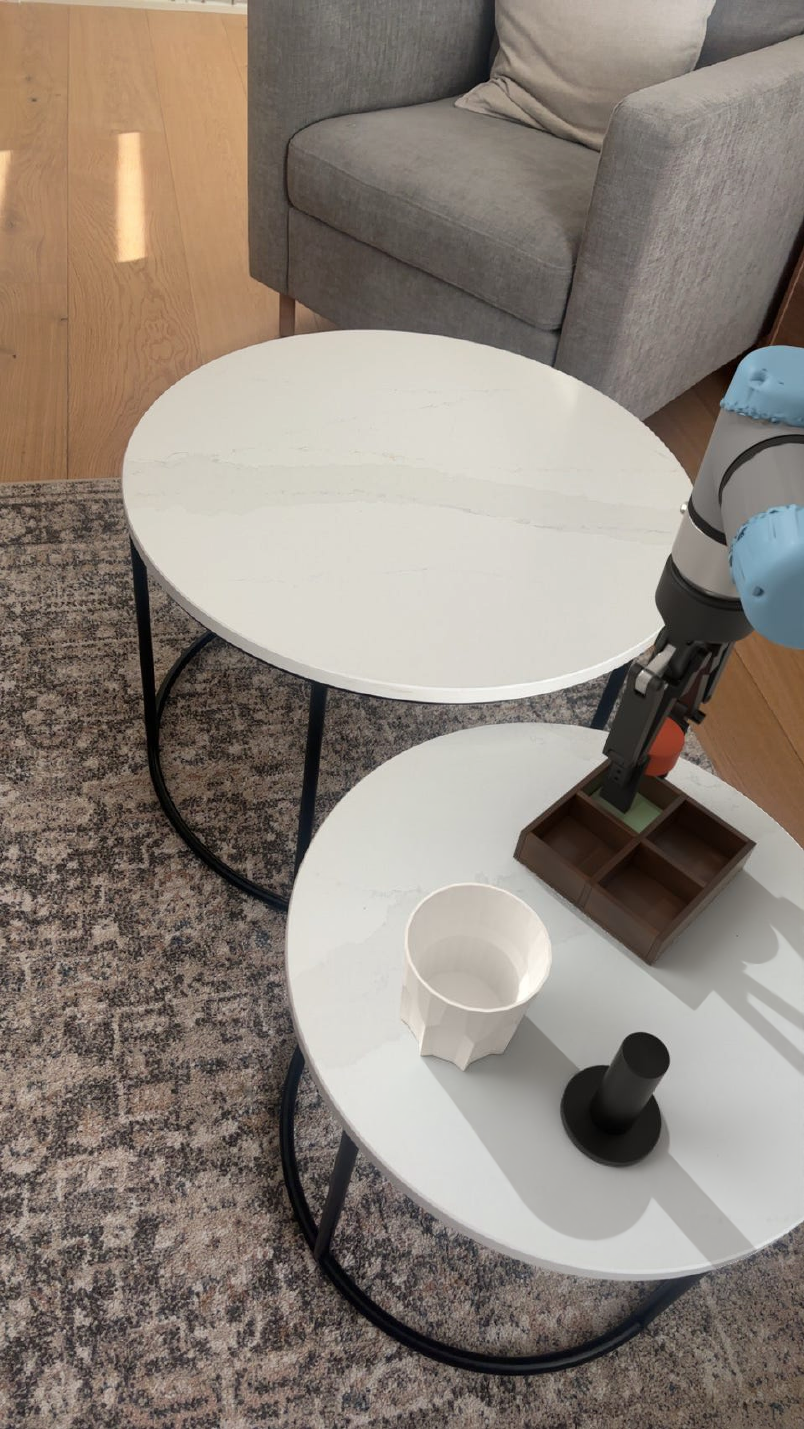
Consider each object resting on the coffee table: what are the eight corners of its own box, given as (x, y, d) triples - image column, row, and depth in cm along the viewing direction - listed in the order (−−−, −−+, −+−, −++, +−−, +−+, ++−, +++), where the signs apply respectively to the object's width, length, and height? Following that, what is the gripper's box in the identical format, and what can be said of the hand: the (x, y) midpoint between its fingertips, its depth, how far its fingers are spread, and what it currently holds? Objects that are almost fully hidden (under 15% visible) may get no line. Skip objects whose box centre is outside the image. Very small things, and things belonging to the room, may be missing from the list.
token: (685, 773, 88) (694, 753, 87) (628, 778, 87) (636, 758, 86) (663, 728, 92) (671, 709, 90) (608, 732, 91) (615, 712, 89)
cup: (548, 1049, 80) (579, 978, 72) (428, 1102, 76) (448, 1034, 69) (481, 940, 85) (504, 865, 78) (366, 984, 82) (379, 910, 74)
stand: (673, 1158, 75) (716, 1098, 68) (577, 1174, 73) (612, 1114, 67) (638, 1063, 80) (676, 998, 73) (548, 1076, 78) (577, 1011, 71)
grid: (743, 868, 93) (757, 843, 91) (650, 966, 85) (663, 942, 83) (610, 772, 99) (620, 746, 97) (512, 856, 91) (520, 830, 89)
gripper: (741, 498, 83) (656, 712, 99) (603, 594, 72) (533, 814, 89) (829, 546, 79) (725, 759, 96) (697, 653, 69) (607, 870, 86)
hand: (633, 785), depth 92 cm, fingers closed on token, 5 cm apart
